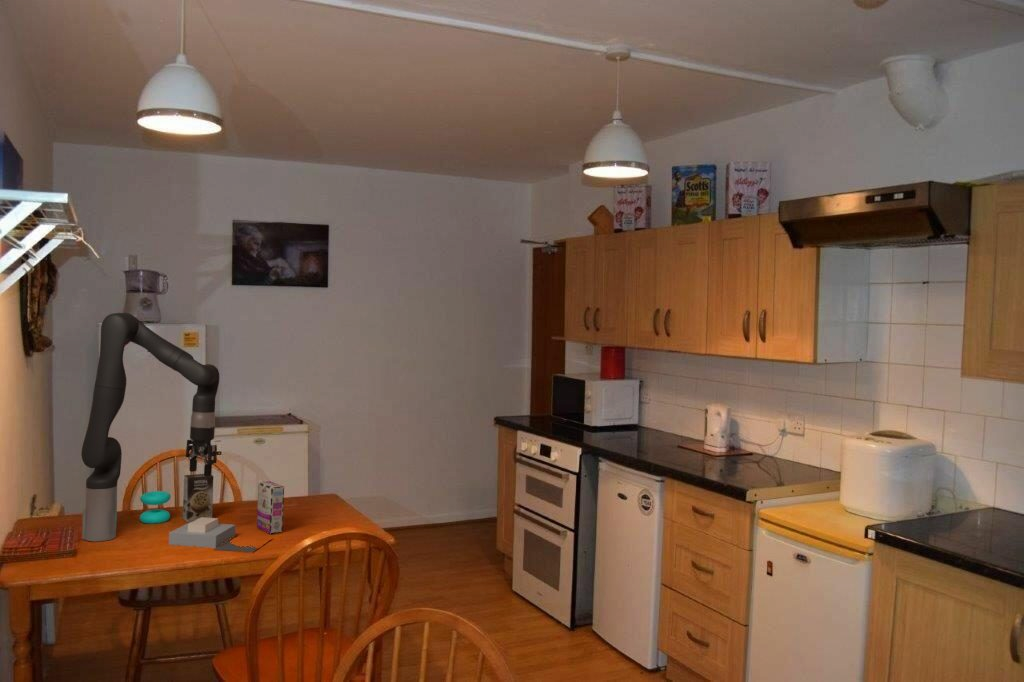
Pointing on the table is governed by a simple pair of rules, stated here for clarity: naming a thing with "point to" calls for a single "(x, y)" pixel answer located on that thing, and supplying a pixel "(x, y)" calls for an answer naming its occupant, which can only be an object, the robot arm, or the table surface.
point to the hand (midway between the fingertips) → (200, 473)
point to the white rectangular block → (202, 525)
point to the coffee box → (197, 497)
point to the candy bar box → (270, 507)
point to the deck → (202, 536)
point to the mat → (234, 547)
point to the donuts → (155, 514)
